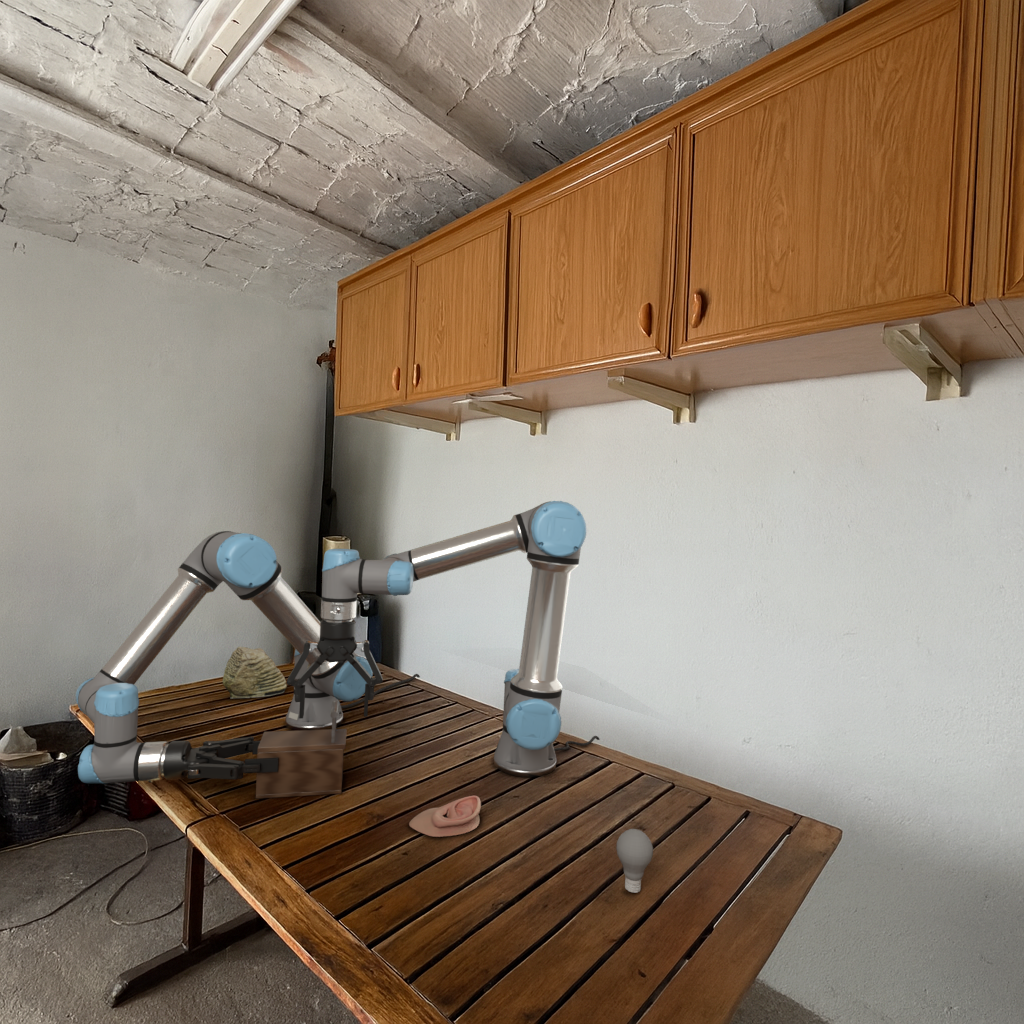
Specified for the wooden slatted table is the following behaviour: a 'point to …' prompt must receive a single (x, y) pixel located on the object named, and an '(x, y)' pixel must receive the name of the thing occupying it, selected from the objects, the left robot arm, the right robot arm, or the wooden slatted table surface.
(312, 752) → the chest
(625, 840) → the light bulb
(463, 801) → the anatomical model
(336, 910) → the wooden slatted table surface
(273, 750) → the lid
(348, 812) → the wooden slatted table surface
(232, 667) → the fossil
